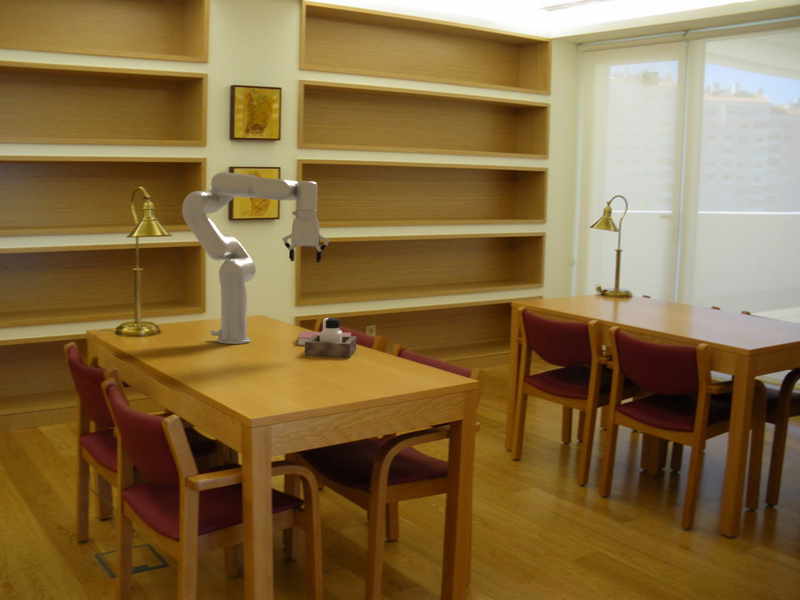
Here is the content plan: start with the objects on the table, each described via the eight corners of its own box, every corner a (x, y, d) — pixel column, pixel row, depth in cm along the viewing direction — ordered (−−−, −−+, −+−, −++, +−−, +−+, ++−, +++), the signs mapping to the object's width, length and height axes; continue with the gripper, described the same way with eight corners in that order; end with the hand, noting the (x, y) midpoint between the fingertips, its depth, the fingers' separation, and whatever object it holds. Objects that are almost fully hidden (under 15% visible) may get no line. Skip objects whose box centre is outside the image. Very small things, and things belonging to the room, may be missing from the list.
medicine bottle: (342, 349, 305) (342, 317, 304) (339, 353, 298) (339, 320, 296) (322, 349, 306) (323, 316, 304) (319, 352, 299) (319, 319, 297)
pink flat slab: (297, 345, 314) (297, 337, 314) (299, 339, 329) (299, 331, 328) (350, 346, 315) (350, 338, 315) (350, 340, 330) (350, 332, 329)
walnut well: (304, 355, 295) (304, 342, 294) (313, 347, 310) (313, 334, 310) (349, 358, 293) (349, 343, 293) (356, 349, 309) (356, 336, 308)
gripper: (280, 214, 303) (279, 261, 306) (327, 216, 302) (326, 263, 304) (285, 213, 311) (284, 259, 313) (331, 215, 309) (330, 262, 311)
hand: (305, 261), depth 309 cm, fingers open, 9 cm apart
